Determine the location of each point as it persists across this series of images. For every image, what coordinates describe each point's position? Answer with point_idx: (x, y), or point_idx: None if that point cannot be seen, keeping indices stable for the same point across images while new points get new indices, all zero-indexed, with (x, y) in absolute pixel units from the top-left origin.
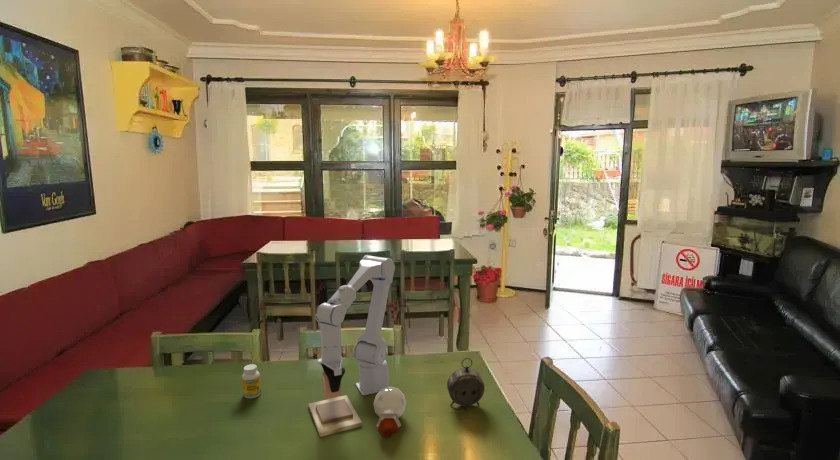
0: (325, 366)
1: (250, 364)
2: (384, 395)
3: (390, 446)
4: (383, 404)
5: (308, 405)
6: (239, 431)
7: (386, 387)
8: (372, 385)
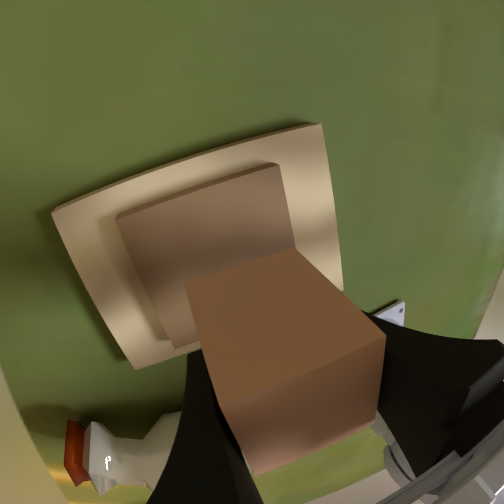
0: (421, 398)
1: None
2: None
3: (45, 423)
4: (151, 477)
5: (316, 123)
6: None
7: None
8: None
